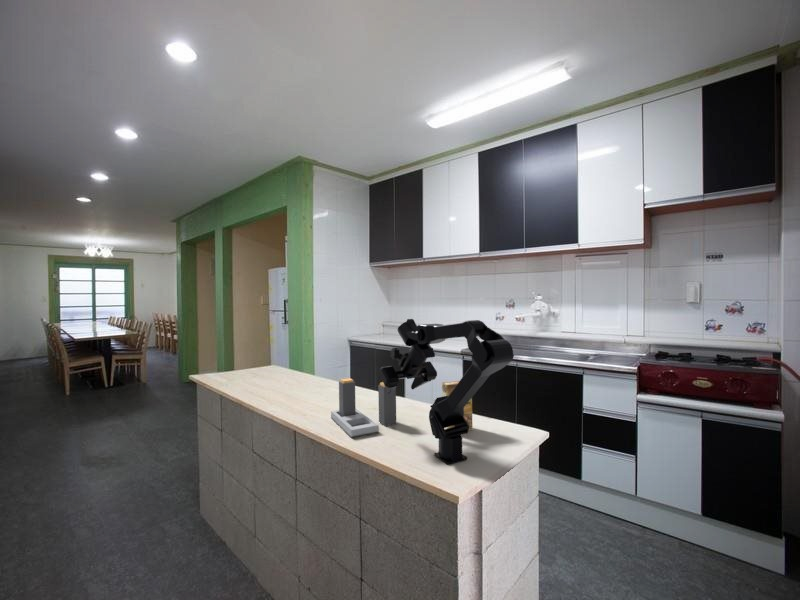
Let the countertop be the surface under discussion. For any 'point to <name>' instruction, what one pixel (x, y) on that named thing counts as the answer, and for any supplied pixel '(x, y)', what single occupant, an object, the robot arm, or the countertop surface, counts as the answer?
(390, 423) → the orange grey tall block
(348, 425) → the light grey recessed block
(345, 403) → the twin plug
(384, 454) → the countertop surface
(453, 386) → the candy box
